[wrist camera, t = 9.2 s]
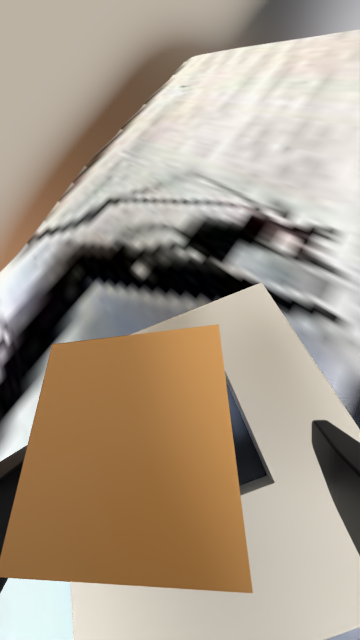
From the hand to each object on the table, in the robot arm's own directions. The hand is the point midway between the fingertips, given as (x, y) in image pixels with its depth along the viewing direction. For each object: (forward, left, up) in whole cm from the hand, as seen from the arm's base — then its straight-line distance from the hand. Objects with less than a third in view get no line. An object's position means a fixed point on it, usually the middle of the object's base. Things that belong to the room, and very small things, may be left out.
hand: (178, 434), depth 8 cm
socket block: (0, 0, -8) cm, 8 cm away
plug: (0, 0, -8) cm, 8 cm away
